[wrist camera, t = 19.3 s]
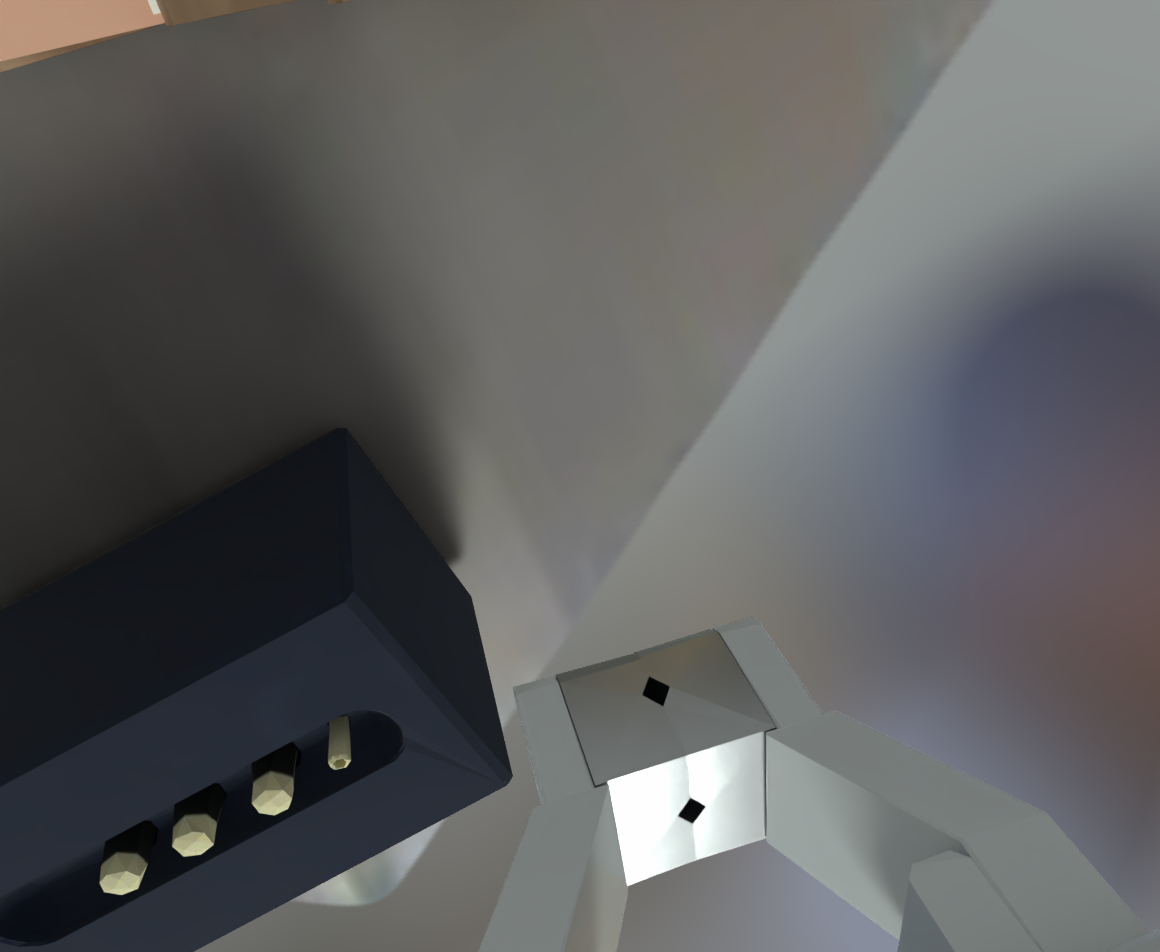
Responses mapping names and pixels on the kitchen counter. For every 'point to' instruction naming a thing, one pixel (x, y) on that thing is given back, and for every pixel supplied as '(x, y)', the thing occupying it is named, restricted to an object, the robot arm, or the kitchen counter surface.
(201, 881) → the speaker
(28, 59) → the domino
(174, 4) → the domino
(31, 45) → the domino
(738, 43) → the kitchen counter surface
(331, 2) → the domino
